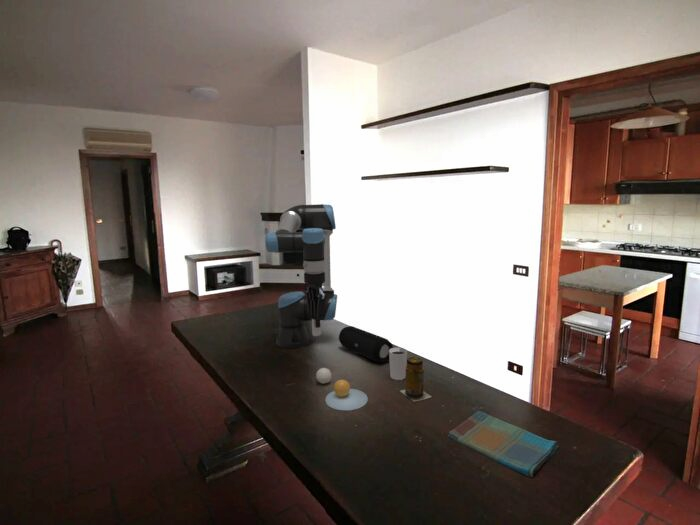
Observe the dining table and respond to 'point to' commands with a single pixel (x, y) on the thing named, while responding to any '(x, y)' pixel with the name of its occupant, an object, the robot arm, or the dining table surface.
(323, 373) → the ivory ball
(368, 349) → the portable speaker
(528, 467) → the dish towel
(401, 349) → the white cup
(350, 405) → the blue mark
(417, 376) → the condiment
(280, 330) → the robot arm
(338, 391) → the orange ball
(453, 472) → the dining table surface
